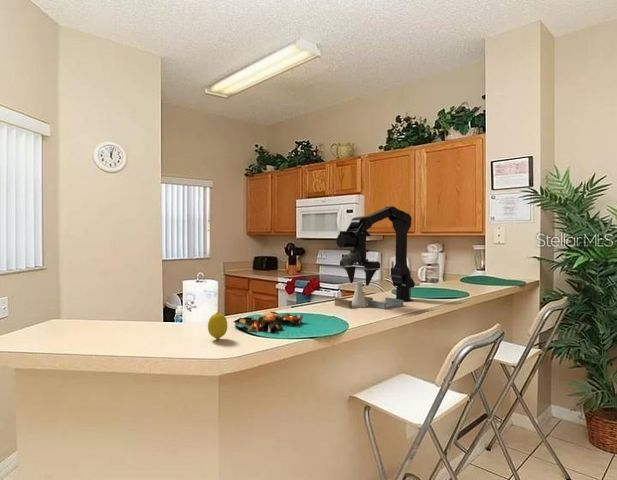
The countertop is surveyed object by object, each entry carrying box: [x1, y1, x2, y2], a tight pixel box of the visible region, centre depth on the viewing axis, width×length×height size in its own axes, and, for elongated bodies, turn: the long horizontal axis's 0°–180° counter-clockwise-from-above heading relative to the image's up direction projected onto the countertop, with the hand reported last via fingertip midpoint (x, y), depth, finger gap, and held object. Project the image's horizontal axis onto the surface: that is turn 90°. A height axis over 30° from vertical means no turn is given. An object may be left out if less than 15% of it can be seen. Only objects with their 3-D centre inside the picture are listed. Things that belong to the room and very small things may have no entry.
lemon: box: [207, 311, 228, 341], centre depth 116 cm, size 6×6×8 cm
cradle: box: [367, 296, 404, 310], centre depth 170 cm, size 12×9×2 cm
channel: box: [334, 295, 374, 310], centre depth 171 cm, size 14×9×3 cm, turn 128°
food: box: [232, 311, 304, 334], centre depth 135 cm, size 22×19×4 cm
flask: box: [351, 281, 368, 308], centre depth 169 cm, size 7×7×10 cm
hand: (359, 284), depth 169 cm, fingers open, 9 cm apart
